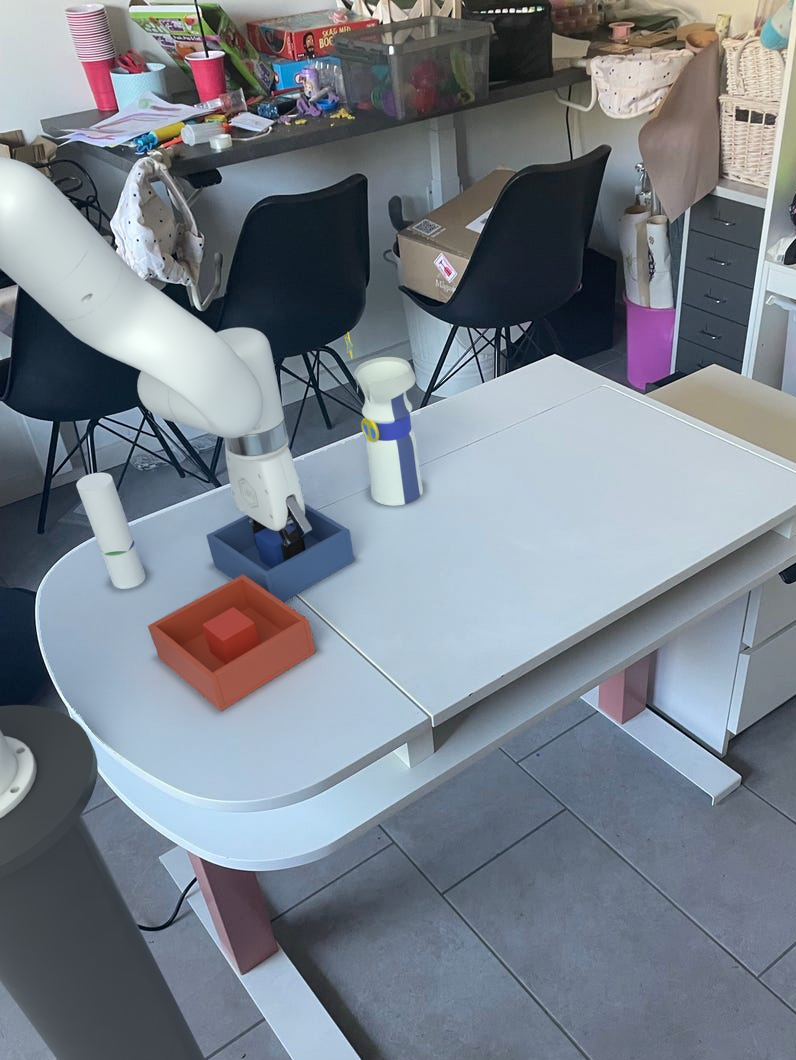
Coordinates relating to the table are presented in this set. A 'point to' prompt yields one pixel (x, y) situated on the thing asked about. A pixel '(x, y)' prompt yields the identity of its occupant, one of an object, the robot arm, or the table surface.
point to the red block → (230, 635)
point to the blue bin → (291, 577)
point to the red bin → (226, 684)
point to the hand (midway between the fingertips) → (282, 554)
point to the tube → (111, 529)
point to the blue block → (271, 546)
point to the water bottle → (389, 429)
